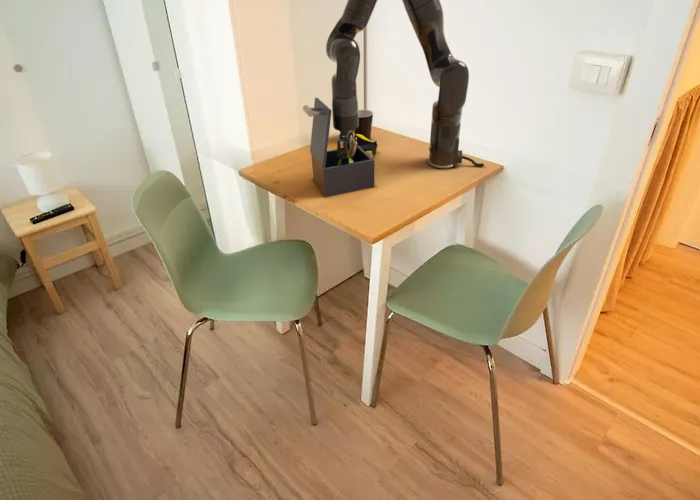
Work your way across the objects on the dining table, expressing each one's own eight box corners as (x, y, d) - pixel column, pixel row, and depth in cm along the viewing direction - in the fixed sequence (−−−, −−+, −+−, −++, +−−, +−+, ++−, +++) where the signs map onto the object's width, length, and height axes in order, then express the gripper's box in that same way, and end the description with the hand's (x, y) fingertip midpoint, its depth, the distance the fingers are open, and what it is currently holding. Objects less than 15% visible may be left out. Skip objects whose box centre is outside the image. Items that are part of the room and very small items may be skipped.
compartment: (359, 171, 153) (358, 145, 148) (374, 187, 143) (374, 160, 138) (313, 179, 149) (311, 153, 144) (325, 197, 139) (324, 169, 134)
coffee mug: (355, 134, 181) (354, 108, 175) (376, 136, 178) (376, 110, 172) (343, 145, 172) (342, 118, 166) (365, 147, 169) (365, 120, 163)
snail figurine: (356, 178, 142) (355, 141, 135) (336, 177, 143) (333, 140, 136) (359, 170, 146) (358, 134, 139) (339, 170, 147) (337, 133, 140)
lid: (317, 97, 135) (299, 96, 133) (331, 110, 125) (312, 109, 123) (312, 152, 143) (295, 152, 141) (325, 168, 133) (307, 168, 131)
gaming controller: (341, 162, 159) (369, 166, 156) (340, 147, 156) (368, 150, 153) (355, 146, 170) (381, 149, 167) (354, 132, 167) (381, 134, 164)
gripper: (353, 120, 127) (355, 176, 137) (362, 103, 139) (363, 157, 148) (326, 119, 128) (330, 175, 138) (337, 103, 140) (340, 156, 149)
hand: (347, 165), depth 143 cm, fingers closed on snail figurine, 5 cm apart
